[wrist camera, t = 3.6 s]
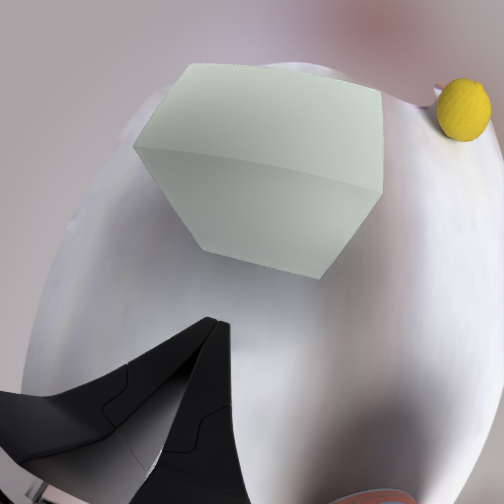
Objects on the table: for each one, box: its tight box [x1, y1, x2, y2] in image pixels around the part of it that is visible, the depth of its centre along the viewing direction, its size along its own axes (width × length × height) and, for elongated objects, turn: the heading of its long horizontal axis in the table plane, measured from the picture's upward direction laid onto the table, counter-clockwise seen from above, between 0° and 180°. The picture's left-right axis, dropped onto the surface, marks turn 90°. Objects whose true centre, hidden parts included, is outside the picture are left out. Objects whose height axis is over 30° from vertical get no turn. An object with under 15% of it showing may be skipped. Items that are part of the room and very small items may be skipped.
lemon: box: [436, 78, 491, 142], centre depth 17 cm, size 6×6×8 cm
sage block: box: [133, 64, 383, 280], centre depth 14 cm, size 5×8×11 cm, turn 74°
